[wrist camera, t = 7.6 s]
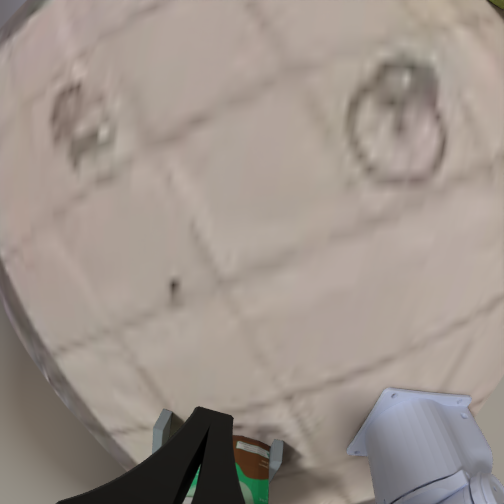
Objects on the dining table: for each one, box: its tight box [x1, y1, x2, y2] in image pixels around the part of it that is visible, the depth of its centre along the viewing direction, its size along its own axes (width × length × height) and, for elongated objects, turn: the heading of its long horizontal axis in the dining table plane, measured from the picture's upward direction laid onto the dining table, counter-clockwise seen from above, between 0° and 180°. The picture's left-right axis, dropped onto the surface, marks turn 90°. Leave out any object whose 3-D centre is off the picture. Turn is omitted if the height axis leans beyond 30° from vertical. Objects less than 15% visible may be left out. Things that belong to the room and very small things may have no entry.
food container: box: [183, 435, 270, 504], centre depth 20 cm, size 12×6×10 cm, turn 140°
